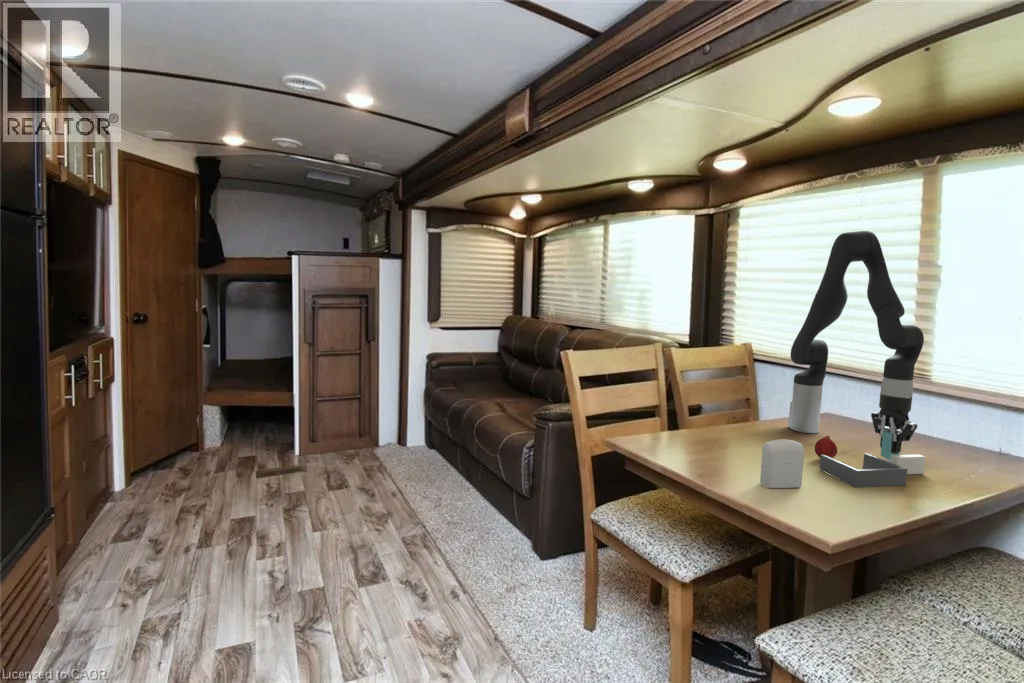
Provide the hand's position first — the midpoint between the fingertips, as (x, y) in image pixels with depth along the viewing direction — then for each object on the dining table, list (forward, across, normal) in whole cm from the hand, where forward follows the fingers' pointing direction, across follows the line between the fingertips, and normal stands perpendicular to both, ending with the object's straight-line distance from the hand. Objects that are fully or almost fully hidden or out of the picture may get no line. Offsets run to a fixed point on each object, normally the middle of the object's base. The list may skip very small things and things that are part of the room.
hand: (889, 451), depth 154 cm
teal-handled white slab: (+4, +3, 0) cm, 5 cm away
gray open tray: (+5, +7, -16) cm, 18 cm away
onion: (+5, -6, -16) cm, 18 cm away
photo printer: (+5, +11, -43) cm, 45 cm away
